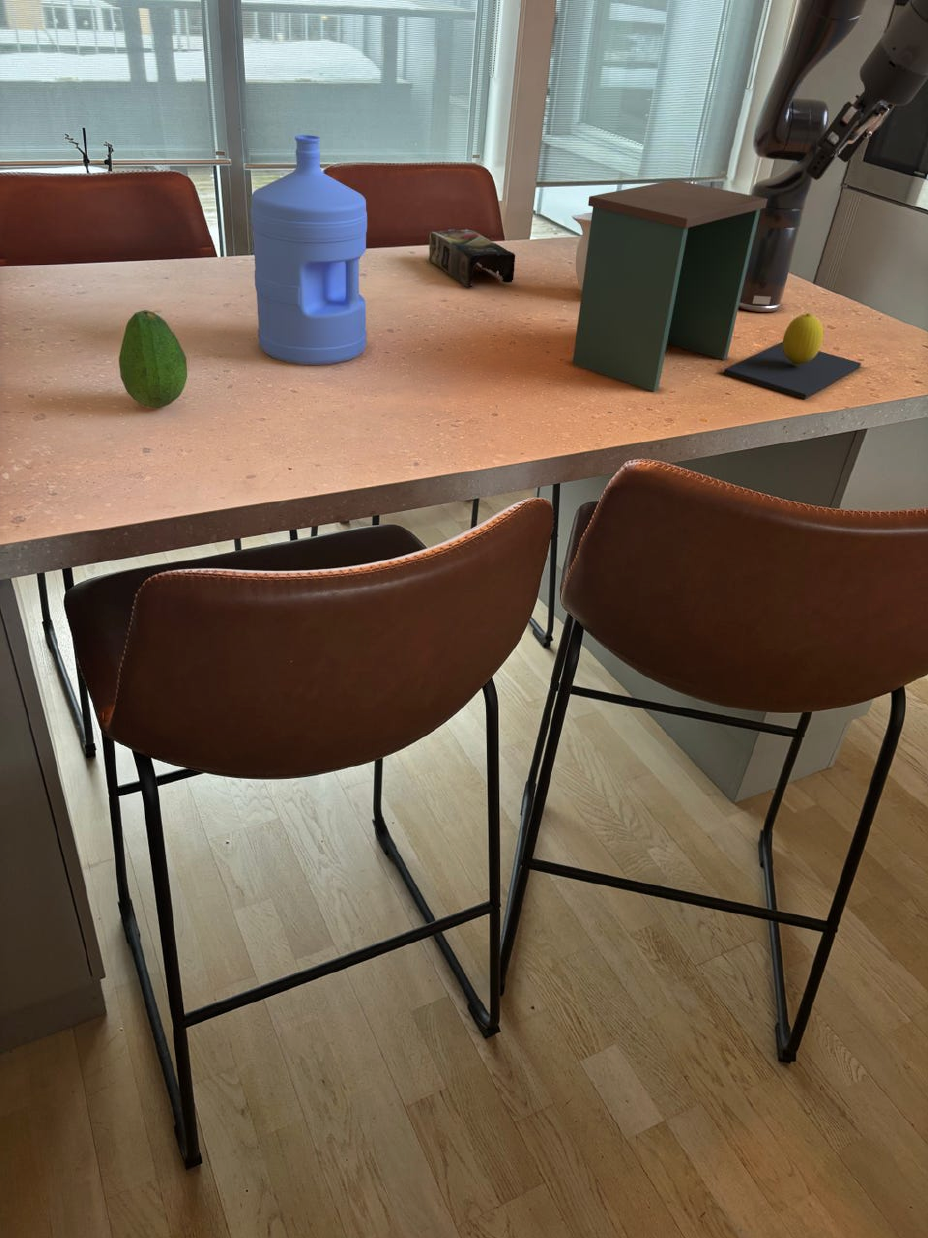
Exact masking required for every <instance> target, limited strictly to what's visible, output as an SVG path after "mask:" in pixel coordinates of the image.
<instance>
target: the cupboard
mask: <svg viewBox="0 0 928 1238" xmlns="http://www.w3.org/2000/svg"><path fill="white" fill-rule="evenodd" d="M766 204H767V199H766V198H761V197H756V196H751V194H746V193H742V192H737V191H731V190H726V189H721V188H718V187H712V186H707V185H703V184H697V183H692V182H688V181H682V180H677V179H673V180H667V181H662V182H658V183H651V184H647V185H641V186H636V187H632V188H626V189H621V190H615V191H610V192H604V193H599V194H595V195H591V196H589V197H588V203H587V206H588V207H592V212H591V213H592V218H591V226H590V234H589V241H588V249H587V257H586V264H585V272H584V280H583V287H582V291H581V295H580V296H581V298H580V303H579V310H578V311H579V312H578V317H577V318H578V319H577V327H576V333H575V342H574V350H573V357H572V365H573V366H574V365H575V366H577V367H581V368H583V369H586V370H589V371H592V372H594V373H598V374H601V375H603V376H605V377H610V378H612V379H615V380H618V381H621V382H624V383H627V384H630V385H633V386H635V387H639V388H641V389H645V390H647V391H650V392H653V393H655V392H656V391H659V388H660V383H661V377H662V371H663V366H664V360H665V355H666V351H667V345H668V344H669V345H672V346H677V347H680V348H682V349H685V350H688V351H692V352H695V353H699V354H702V355H705V356H708V357H712V358H714V359H718V360H721V361H724V360H727V359H728V356H729V350H730V347H731V342H732V337H733V333H734V329H735V325H736V320H737V315H738V310H739V308H738V307H739V302H740V298H741V294H742V289H743V285H744V280H745V276H746V271H747V267H748V262H749V258H750V254H751V249H752V245H753V240H754V236H755V231H756V227H757V223H758V218H759V214H760V209H762V208H765V207H766Z"/></svg>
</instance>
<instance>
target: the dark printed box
mask: <svg viewBox="0 0 928 1238" xmlns="http://www.w3.org/2000/svg"><path fill="white" fill-rule="evenodd" d="M428 250H429V251H428V254H429V255H428V261H429V262H430V263H431V264H434V265H435V266H436V267H439V268H440V269H442V270H443V271H445V273H447V274H448V275H449V276H451V277H452V278H453V279H455V280H456V281H458V282H459V283H460V284H462V285H463V286H464V287H466V288H469V289H470V288H473V287H474V285H471V282H472V279H473V278H472V277H473V274H474V270H475V266H476V265H477V264H478V265H480V267H481V268H482V269H486V270H487V271H491V272H492V273H493V274H495V275H497V274H498V276H499V277H500V278H501V279H502V280H501V281H502V282H504V283H509V284H510V283H513V281H514V276H515V264H516V254H515V253H514V252H512V251H509V250H508V249H506V248H504V247H503V246H501V245H500V244H498V243H496V242H493V241H492V240H490V239H489V238H487V237H485V236H483V235H482V234H480V233H478V232H476V231H475V230H472V229H461V230H460V229H458V228H453V229H448V230H440V231H430V234H429V246H428Z"/></svg>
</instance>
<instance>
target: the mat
mask: <svg viewBox="0 0 928 1238" xmlns="http://www.w3.org/2000/svg"><path fill="white" fill-rule="evenodd" d="M861 365H862V363H861V362H859V361H856V360H853V359H852V360H851V359H849V358H845V357H842V356H838V355H835V354H831V353H827V352H823V351H820V350H819V351H818V353H817V354H816V356H815V357H814V358H813V359H811V360H810V361H808V362H805V363H801V364H800V365H799V366H794V365H793V364H792V362H791V361H790V360H789V359H787V358H786V356H785V355H784V352H783V341H781V342H779V343H777V344H775V345H773V346H771V347H768V348H766V349H764V350H762V351H759V352H758V353H756V354H754V355H752V356H749V357H747V358H745V359H743V360H741V361H739V362H737V363H735V364H733V365H730V366H728V367H726V368H724V370H723V375H726V376H729V377H732V378H735V379H738V380H742V381H745V382H748V383H750V384H754V385H757V386H761V387H764V388H767V389H770V390H773V391H776V392H779V393H783V394H786V395H789V396H792V397H795V398H798V399H801V400H807V399H809V398H810V397H812V396H814V395H816V394H817V393H819V392H820V391H822V390H824V389H826V388H827V387H829V386H831V385H833V384H835V383H836V382H838V381H840V380H841V379H843V378H845V377H846V376H848V375H850V374H852V373H854V372H856V370H858V369H860V368H861Z"/></svg>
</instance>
